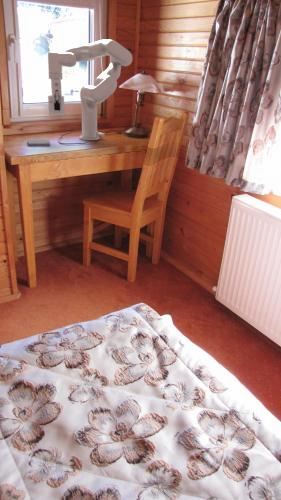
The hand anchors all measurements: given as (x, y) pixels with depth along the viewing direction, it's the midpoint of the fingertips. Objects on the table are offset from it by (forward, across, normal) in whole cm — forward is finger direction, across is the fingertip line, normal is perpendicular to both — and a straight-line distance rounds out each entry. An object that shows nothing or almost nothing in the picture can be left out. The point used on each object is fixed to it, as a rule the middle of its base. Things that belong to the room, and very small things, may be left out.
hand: (56, 109), depth 232 cm
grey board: (+19, -7, +11) cm, 23 cm away
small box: (+4, 0, 0) cm, 4 cm away
